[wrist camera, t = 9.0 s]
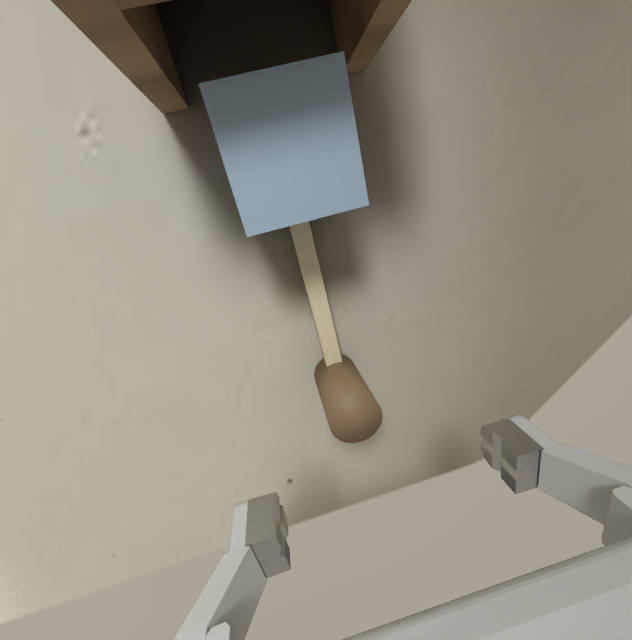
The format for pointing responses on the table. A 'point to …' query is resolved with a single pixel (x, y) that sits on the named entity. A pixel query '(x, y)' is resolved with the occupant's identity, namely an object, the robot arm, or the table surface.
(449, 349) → the table surface
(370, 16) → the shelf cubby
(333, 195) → the block with stick handle
